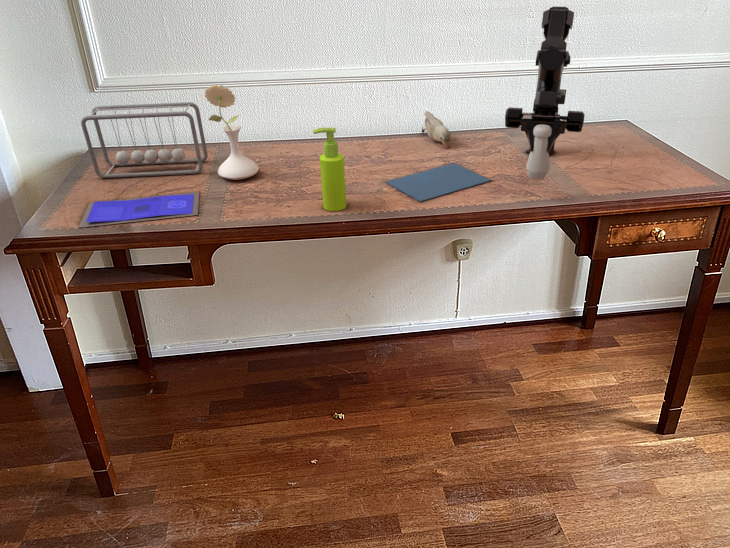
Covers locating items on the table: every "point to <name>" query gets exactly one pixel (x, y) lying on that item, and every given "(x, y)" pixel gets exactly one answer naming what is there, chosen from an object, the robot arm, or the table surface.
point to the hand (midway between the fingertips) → (539, 151)
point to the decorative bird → (436, 129)
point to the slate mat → (437, 182)
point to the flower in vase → (230, 137)
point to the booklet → (140, 209)
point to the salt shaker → (539, 153)
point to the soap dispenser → (332, 173)
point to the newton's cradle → (149, 154)
